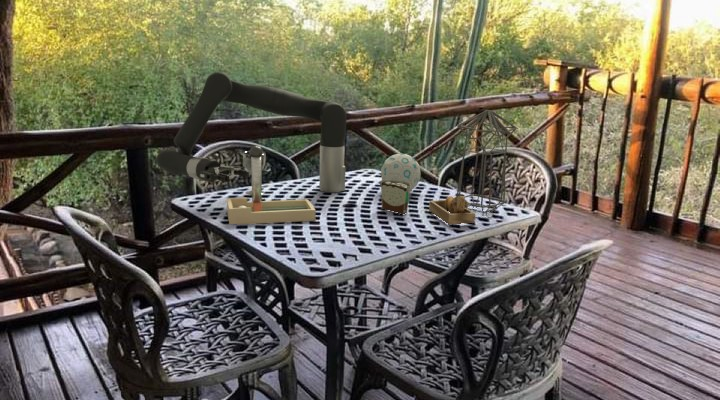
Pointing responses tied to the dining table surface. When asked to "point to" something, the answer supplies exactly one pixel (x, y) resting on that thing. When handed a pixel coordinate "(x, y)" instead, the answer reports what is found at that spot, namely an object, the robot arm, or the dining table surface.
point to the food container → (395, 195)
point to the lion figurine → (456, 204)
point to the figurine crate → (449, 218)
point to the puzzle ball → (401, 169)
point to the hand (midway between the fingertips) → (238, 176)
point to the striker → (256, 178)
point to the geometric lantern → (491, 119)
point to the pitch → (269, 211)
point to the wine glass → (248, 165)
